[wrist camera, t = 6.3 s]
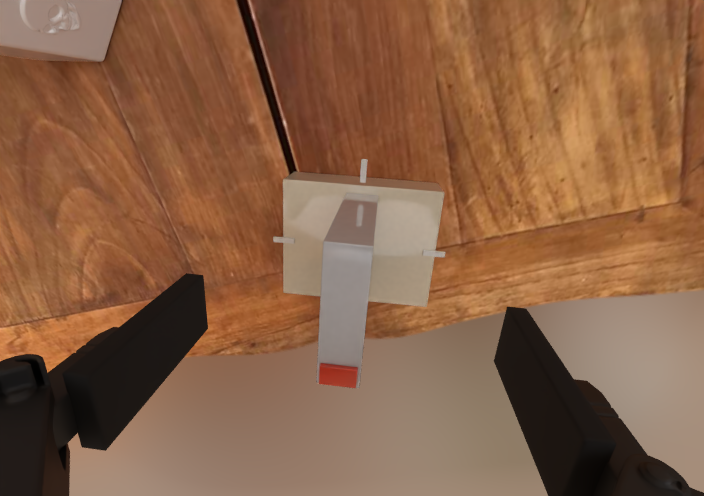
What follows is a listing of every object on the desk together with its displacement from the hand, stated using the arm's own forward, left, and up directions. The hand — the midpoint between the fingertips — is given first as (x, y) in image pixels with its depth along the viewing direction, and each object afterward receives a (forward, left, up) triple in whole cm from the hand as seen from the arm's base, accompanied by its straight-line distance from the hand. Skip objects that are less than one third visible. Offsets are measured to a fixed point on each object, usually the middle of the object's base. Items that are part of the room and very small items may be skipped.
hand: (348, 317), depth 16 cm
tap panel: (0, 0, -12) cm, 12 cm away
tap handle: (0, 0, -9) cm, 9 cm away
